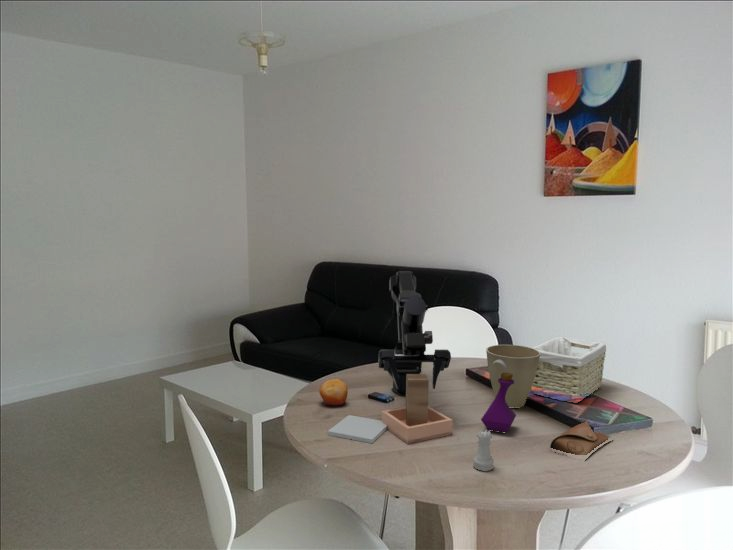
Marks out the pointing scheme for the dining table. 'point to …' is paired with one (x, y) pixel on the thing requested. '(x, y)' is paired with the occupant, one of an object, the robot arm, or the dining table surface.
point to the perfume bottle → (500, 406)
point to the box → (433, 429)
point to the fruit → (334, 392)
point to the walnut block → (416, 399)
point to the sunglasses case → (578, 440)
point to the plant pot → (513, 370)
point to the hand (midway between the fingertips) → (416, 388)
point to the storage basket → (570, 366)
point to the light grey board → (358, 429)
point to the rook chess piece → (483, 452)
